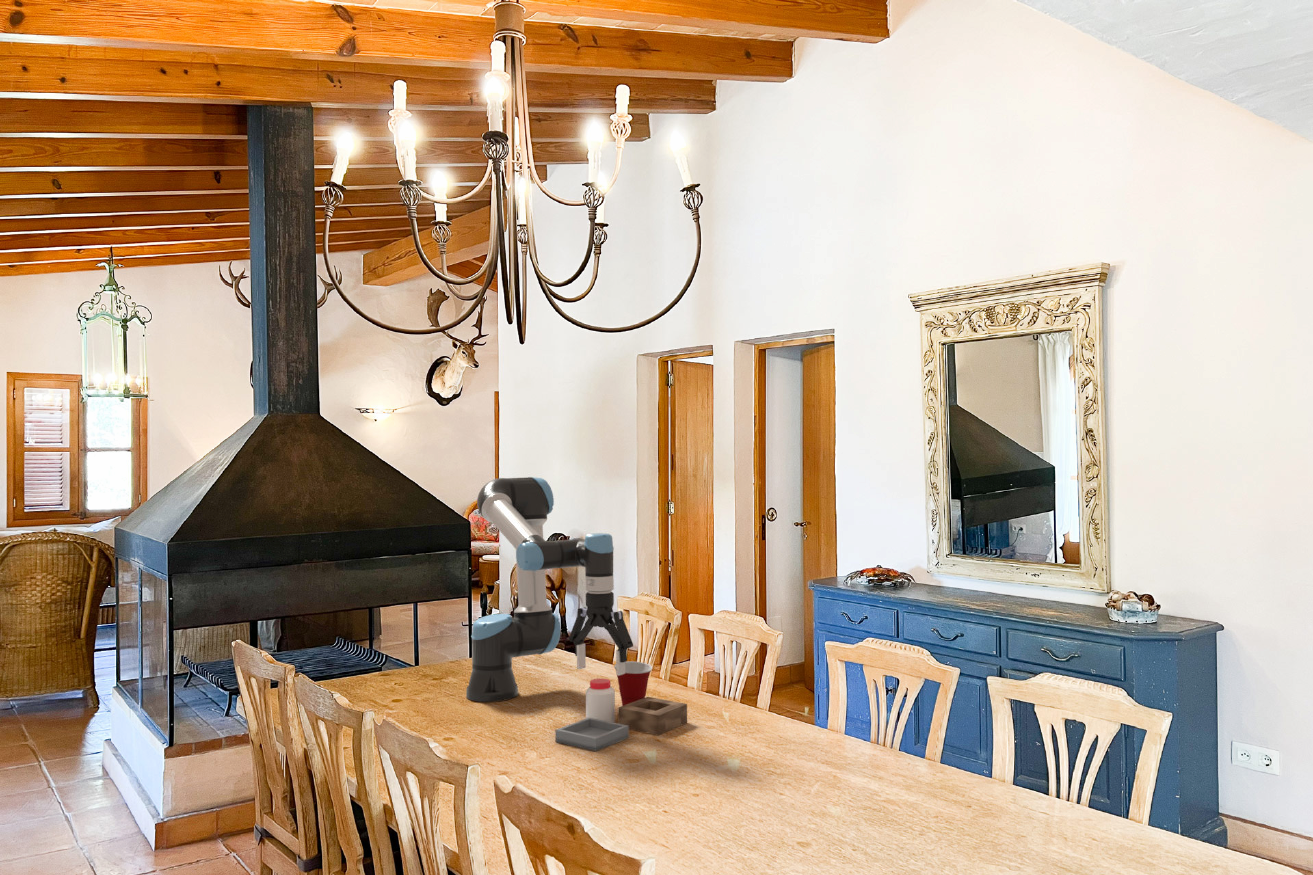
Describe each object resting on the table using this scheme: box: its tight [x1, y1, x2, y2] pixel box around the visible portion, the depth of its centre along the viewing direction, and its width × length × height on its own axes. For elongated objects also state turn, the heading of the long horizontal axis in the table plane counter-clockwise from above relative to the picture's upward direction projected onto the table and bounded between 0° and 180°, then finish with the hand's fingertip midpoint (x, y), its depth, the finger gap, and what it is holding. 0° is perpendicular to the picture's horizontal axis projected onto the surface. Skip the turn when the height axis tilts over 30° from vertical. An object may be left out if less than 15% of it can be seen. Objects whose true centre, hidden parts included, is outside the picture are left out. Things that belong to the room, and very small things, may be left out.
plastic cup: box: [613, 660, 653, 706], centre depth 260 cm, size 11×11×12 cm
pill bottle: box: [585, 678, 616, 723], centre depth 246 cm, size 8×8×11 cm
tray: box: [554, 717, 630, 752], centre depth 231 cm, size 13×13×3 cm
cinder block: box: [617, 696, 688, 736], centre depth 244 cm, size 13×13×5 cm
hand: (600, 671), depth 246 cm, fingers open, 13 cm apart
